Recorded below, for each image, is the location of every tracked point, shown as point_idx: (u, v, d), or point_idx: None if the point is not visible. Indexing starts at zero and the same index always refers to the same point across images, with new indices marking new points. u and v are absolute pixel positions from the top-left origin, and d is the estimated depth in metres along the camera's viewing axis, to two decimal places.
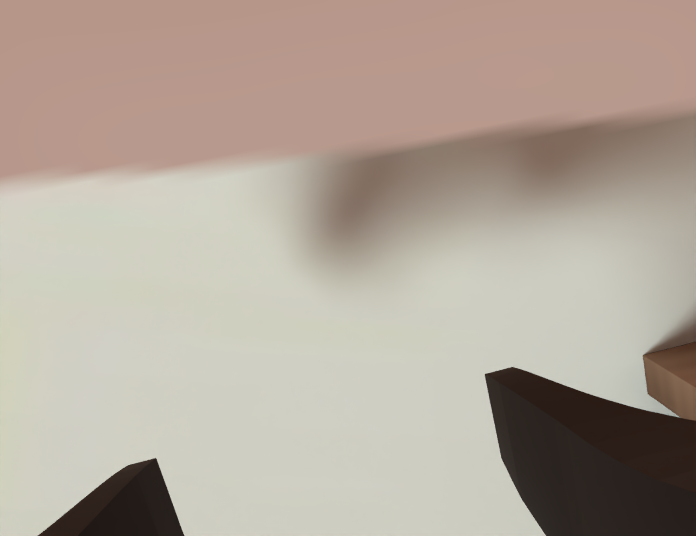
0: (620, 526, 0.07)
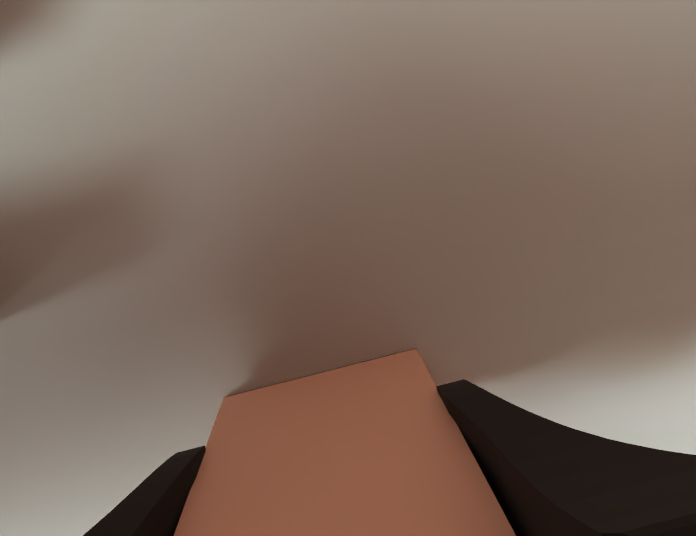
0: None
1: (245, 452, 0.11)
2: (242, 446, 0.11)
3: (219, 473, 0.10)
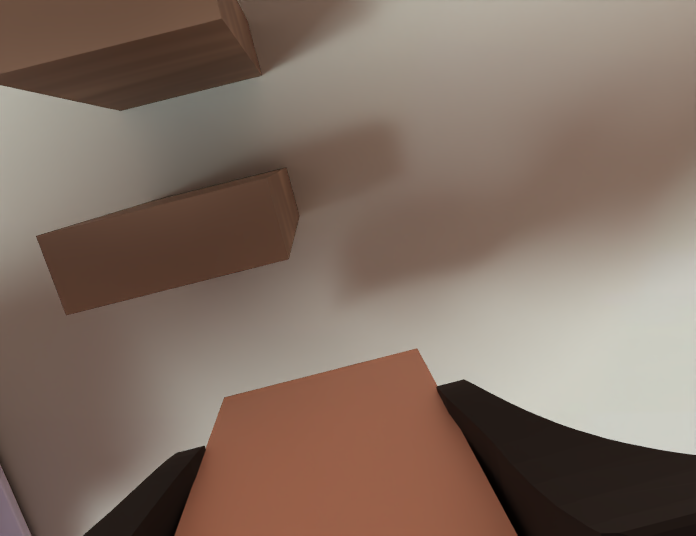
0: None
1: (246, 452, 0.11)
2: (243, 446, 0.11)
3: (220, 473, 0.10)
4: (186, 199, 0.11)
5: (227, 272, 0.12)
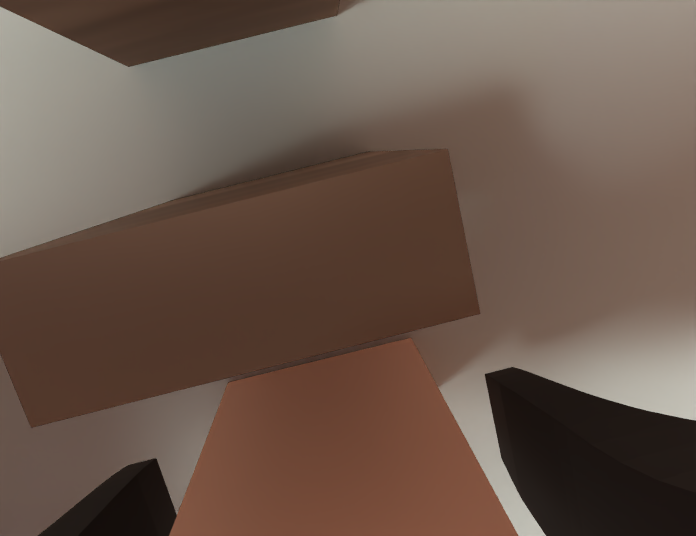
0: (620, 526, 0.07)
1: (250, 428, 0.11)
2: (246, 423, 0.12)
3: (225, 446, 0.11)
4: (281, 193, 0.05)
5: (356, 340, 0.06)
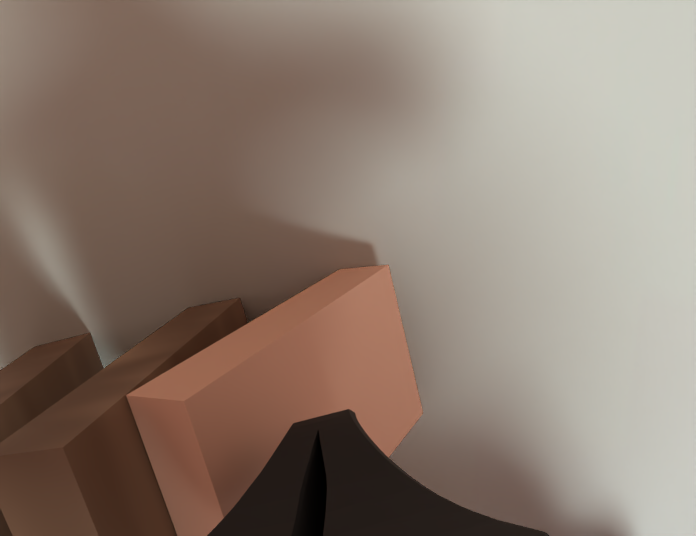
0: None
1: None
2: None
3: None
4: None
5: (89, 517, 0.09)
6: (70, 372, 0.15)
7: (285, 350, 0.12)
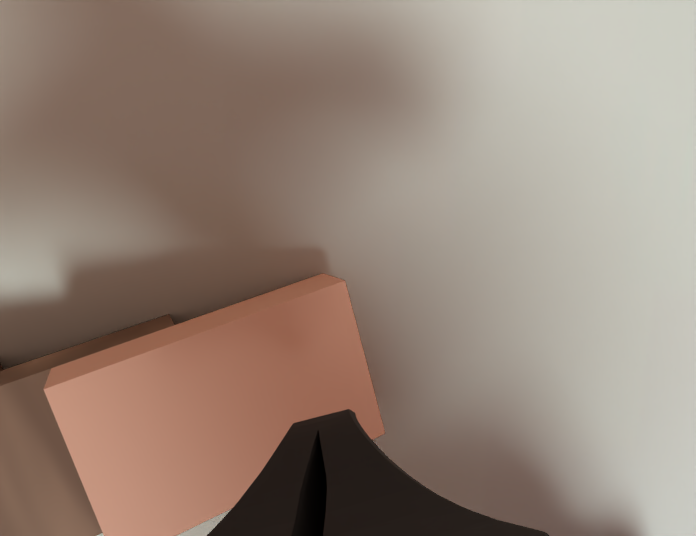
0: None
1: None
2: None
3: None
4: None
5: None
6: None
7: (168, 358, 0.14)
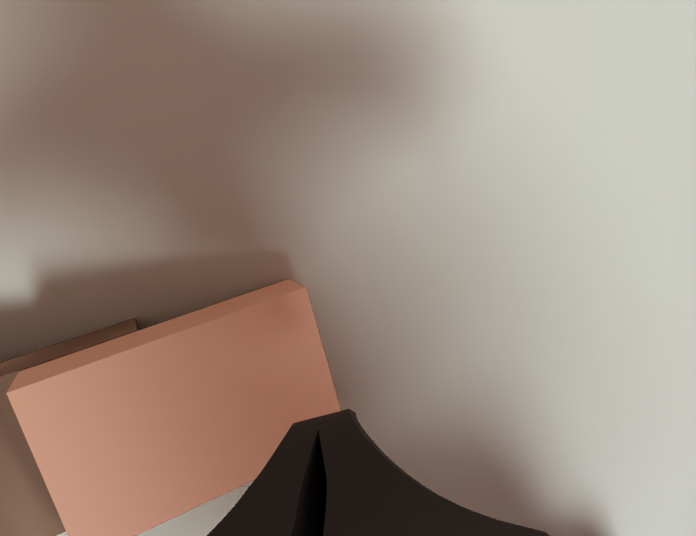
0: None
1: None
2: None
3: None
4: None
5: None
6: None
7: (130, 363, 0.14)
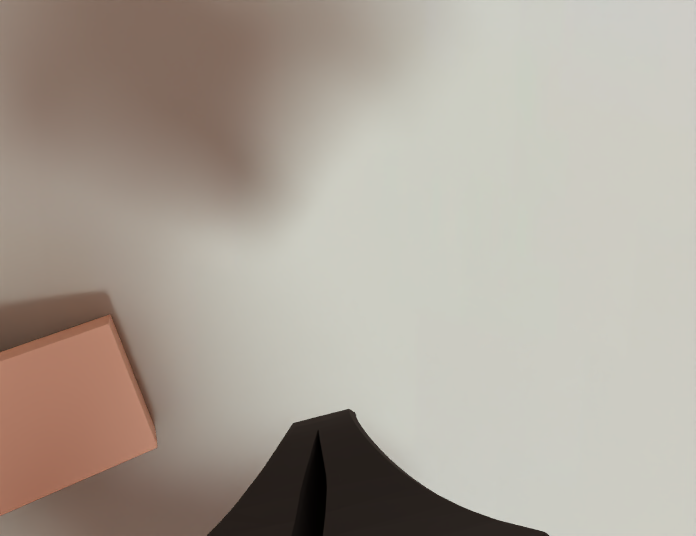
0: None
1: None
2: None
3: None
4: None
5: None
6: None
7: None
